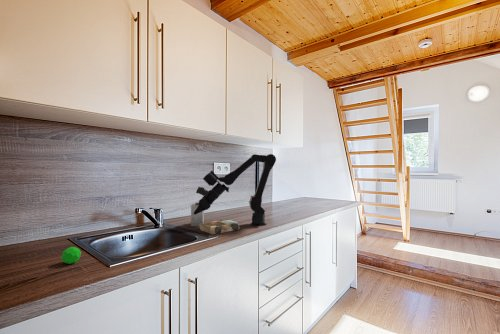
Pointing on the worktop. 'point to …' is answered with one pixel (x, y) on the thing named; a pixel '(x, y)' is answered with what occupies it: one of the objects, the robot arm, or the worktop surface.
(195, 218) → the grey rectangular block
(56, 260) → the worktop surface
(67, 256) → the polyhedron
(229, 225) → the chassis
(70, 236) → the worktop surface
